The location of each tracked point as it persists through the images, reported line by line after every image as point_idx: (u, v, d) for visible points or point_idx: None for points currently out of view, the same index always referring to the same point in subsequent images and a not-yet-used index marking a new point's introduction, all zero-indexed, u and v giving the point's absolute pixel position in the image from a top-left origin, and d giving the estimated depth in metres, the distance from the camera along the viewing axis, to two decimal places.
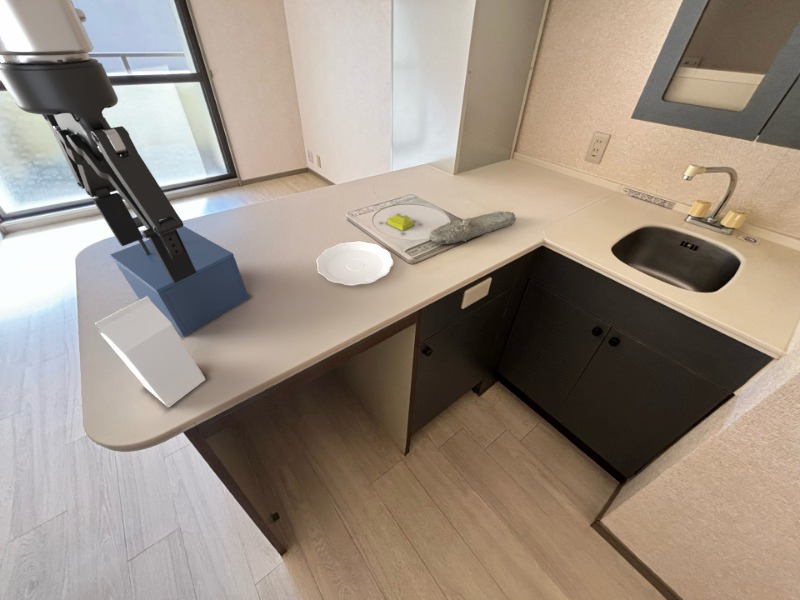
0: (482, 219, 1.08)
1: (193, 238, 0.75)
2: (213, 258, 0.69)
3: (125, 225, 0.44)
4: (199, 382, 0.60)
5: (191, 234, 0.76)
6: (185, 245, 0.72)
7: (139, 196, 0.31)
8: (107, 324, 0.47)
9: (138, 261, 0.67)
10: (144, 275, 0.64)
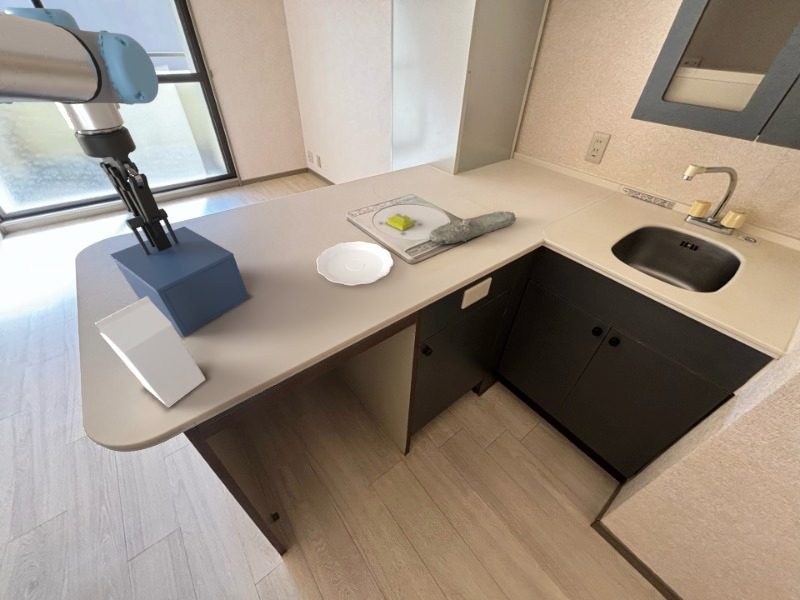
0: (482, 219, 1.08)
1: (193, 238, 0.75)
2: (213, 258, 0.69)
3: None
4: (199, 382, 0.60)
5: (191, 234, 0.76)
6: (185, 245, 0.72)
7: (144, 207, 0.61)
8: (107, 324, 0.47)
9: (138, 261, 0.67)
10: (144, 275, 0.64)
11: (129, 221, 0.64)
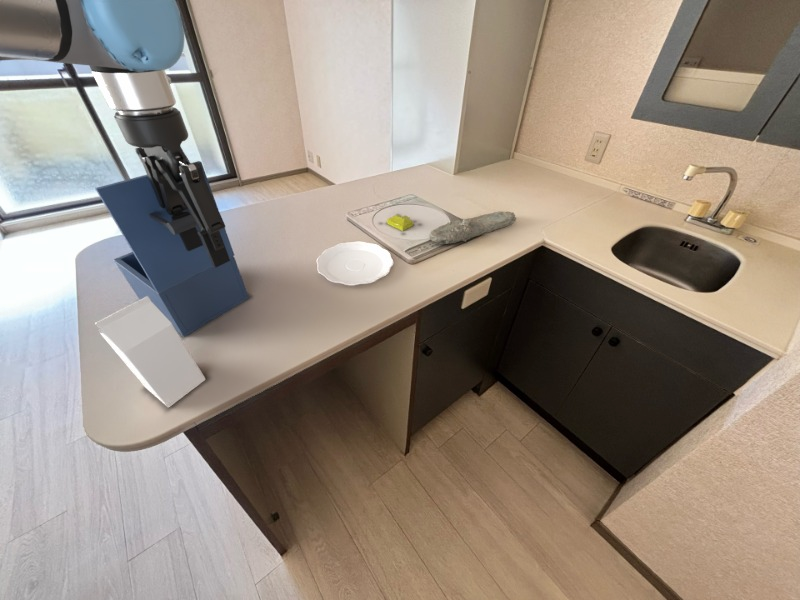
0: (482, 219, 1.08)
1: None
2: None
3: (191, 235, 0.58)
4: (199, 382, 0.60)
5: None
6: None
7: (202, 209, 0.47)
8: (107, 324, 0.47)
9: (139, 228, 0.54)
10: (146, 262, 0.57)
11: (177, 232, 0.52)
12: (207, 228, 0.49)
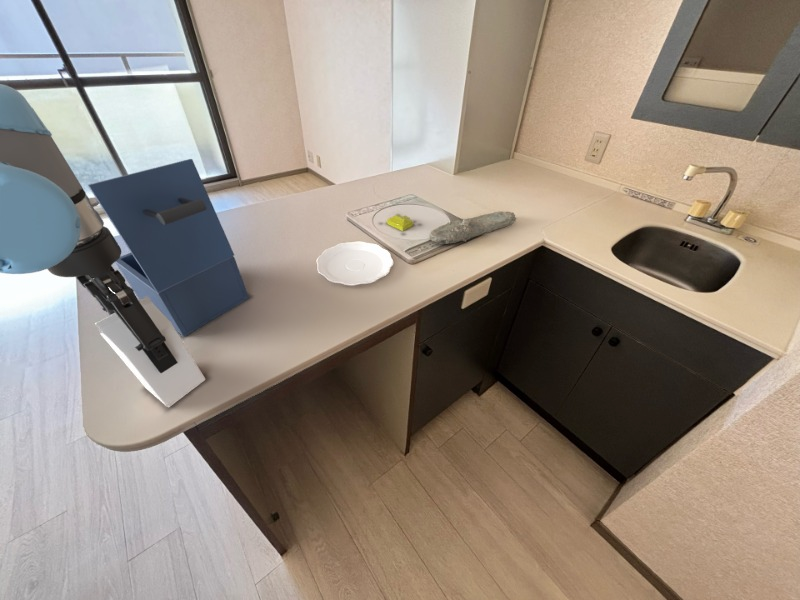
0: (482, 219, 1.08)
1: None
2: (216, 256, 0.67)
3: None
4: (199, 382, 0.60)
5: (199, 190, 0.61)
6: None
7: (137, 330, 0.44)
8: (107, 324, 0.47)
9: (134, 225, 0.55)
10: (144, 260, 0.57)
11: (166, 222, 0.52)
12: (144, 346, 0.46)
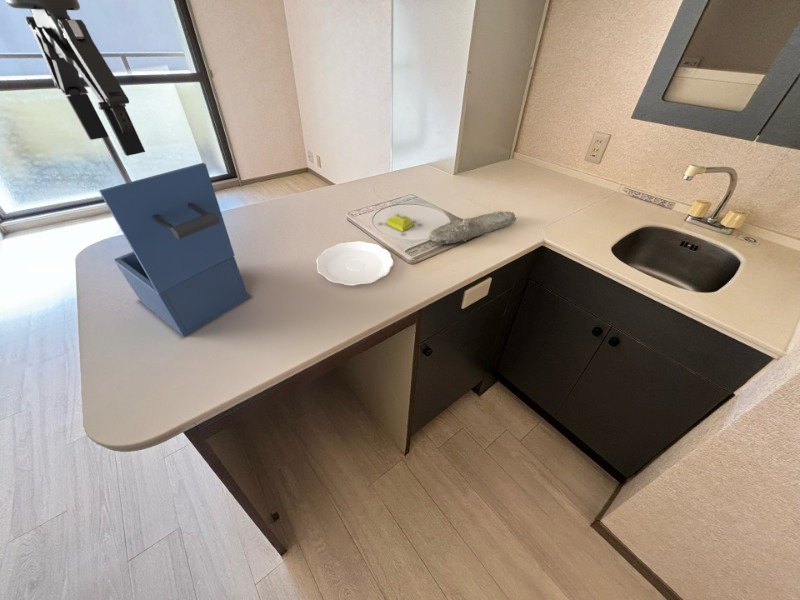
0: (482, 219, 1.08)
1: (209, 206, 0.61)
2: (217, 257, 0.67)
3: (93, 122, 0.57)
4: None
5: (208, 194, 0.60)
6: (198, 217, 0.60)
7: (94, 72, 0.44)
8: None
9: (142, 229, 0.54)
10: (148, 263, 0.57)
11: (181, 237, 0.52)
12: (105, 98, 0.45)
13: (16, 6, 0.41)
